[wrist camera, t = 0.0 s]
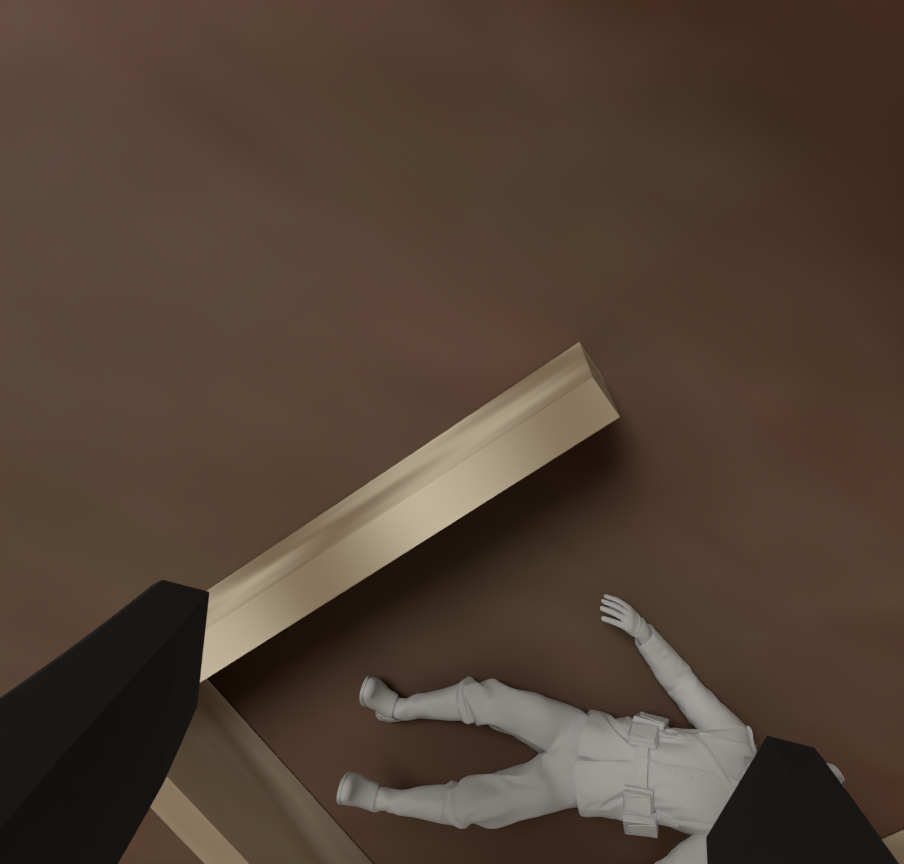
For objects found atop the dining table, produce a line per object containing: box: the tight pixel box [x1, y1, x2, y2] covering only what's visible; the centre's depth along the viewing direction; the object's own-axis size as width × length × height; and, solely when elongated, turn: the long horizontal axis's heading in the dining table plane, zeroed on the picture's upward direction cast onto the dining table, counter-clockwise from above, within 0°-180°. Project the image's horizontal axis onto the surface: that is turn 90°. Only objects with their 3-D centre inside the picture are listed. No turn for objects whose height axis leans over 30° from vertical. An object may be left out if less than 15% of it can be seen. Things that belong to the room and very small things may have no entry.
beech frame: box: [150, 342, 904, 864], centre depth 21 cm, size 15×18×4 cm
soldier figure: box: [337, 594, 845, 864], centre depth 21 cm, size 8×5×12 cm
